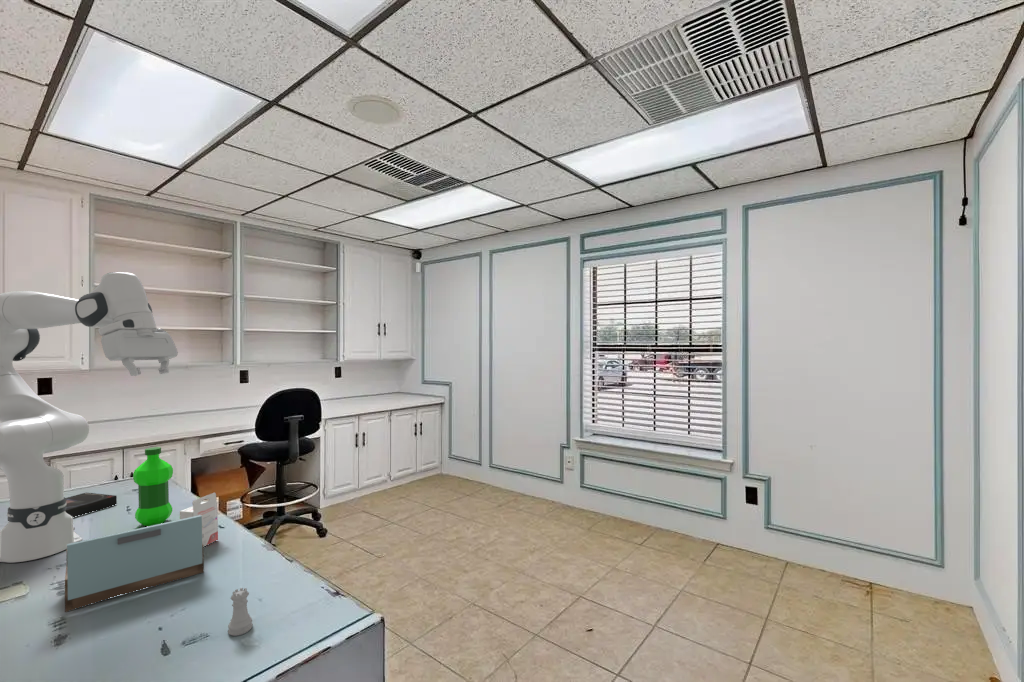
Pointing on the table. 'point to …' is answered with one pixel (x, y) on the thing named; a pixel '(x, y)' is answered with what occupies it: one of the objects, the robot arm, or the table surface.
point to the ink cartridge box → (205, 517)
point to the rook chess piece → (240, 614)
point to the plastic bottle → (153, 489)
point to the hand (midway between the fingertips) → (150, 374)
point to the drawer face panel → (133, 556)
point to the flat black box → (88, 503)
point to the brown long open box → (130, 585)
